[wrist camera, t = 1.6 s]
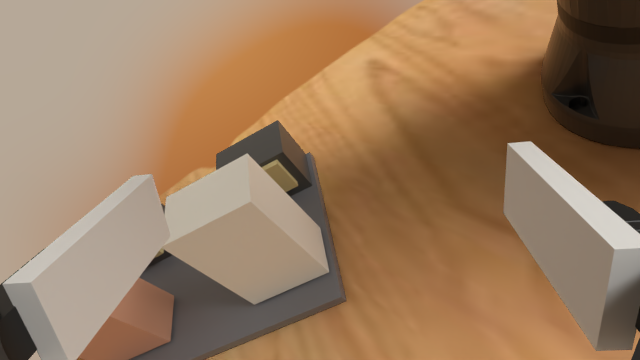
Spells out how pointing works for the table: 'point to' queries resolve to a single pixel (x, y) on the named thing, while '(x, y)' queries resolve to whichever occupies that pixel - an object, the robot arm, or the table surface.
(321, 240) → the off-white key
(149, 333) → the terracotta key
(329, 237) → the key console
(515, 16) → the table surface
